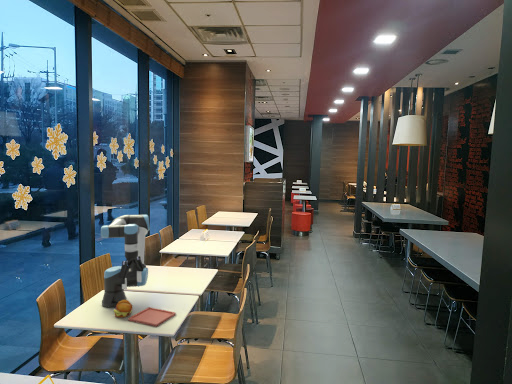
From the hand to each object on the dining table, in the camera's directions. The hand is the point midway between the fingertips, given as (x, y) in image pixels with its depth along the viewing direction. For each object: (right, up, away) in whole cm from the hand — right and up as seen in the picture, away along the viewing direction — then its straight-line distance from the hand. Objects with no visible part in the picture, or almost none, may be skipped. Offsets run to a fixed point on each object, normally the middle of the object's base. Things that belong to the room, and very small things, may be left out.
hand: (132, 285), depth 220 cm
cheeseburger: (-5, -18, 0) cm, 19 cm away
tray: (+13, -18, -4) cm, 23 cm away
